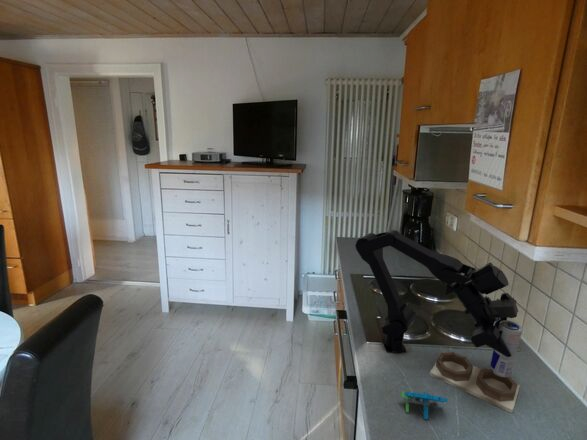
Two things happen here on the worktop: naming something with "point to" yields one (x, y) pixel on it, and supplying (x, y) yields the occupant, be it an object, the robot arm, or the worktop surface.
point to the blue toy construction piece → (425, 400)
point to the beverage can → (511, 339)
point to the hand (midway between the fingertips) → (511, 351)
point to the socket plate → (476, 380)
